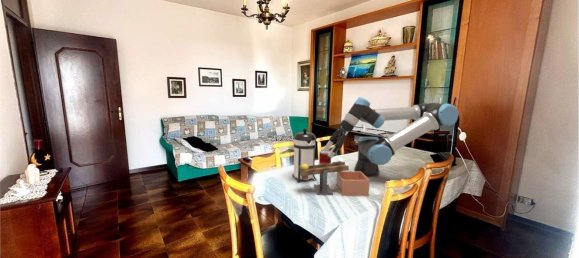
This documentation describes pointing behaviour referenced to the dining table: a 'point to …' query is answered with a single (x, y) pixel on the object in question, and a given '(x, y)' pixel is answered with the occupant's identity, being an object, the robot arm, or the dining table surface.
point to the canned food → (324, 157)
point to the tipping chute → (319, 169)
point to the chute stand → (323, 185)
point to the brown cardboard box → (352, 183)
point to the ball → (304, 167)
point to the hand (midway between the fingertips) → (327, 153)
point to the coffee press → (304, 152)
